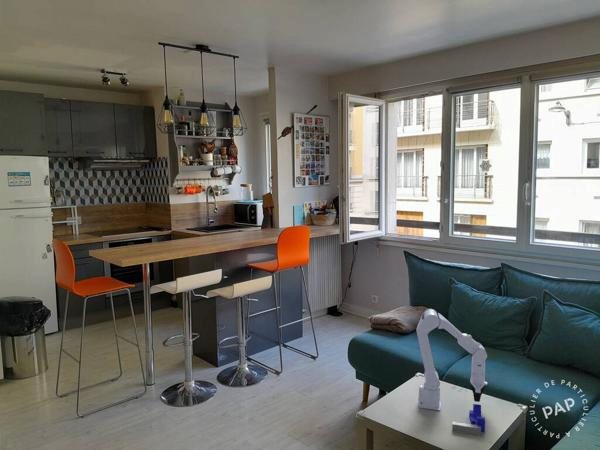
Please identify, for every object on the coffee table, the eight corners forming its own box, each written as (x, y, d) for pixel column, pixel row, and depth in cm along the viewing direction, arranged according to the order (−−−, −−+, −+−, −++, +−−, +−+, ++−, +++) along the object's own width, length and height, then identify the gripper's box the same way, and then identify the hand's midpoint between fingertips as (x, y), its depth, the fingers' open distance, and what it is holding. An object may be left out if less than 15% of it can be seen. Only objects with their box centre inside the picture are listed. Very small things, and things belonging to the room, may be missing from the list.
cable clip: (469, 416, 199) (469, 403, 198) (480, 417, 198) (480, 404, 197) (473, 431, 187) (473, 418, 186) (484, 433, 186) (485, 419, 185)
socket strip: (452, 430, 188) (452, 424, 187) (452, 428, 190) (452, 421, 189) (480, 435, 184) (481, 428, 184) (480, 433, 186) (480, 426, 186)
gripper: (488, 380, 195) (487, 410, 196) (487, 366, 208) (485, 394, 210) (470, 377, 197) (469, 407, 198) (470, 364, 210) (469, 392, 212)
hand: (476, 400), depth 204 cm, fingers closed
